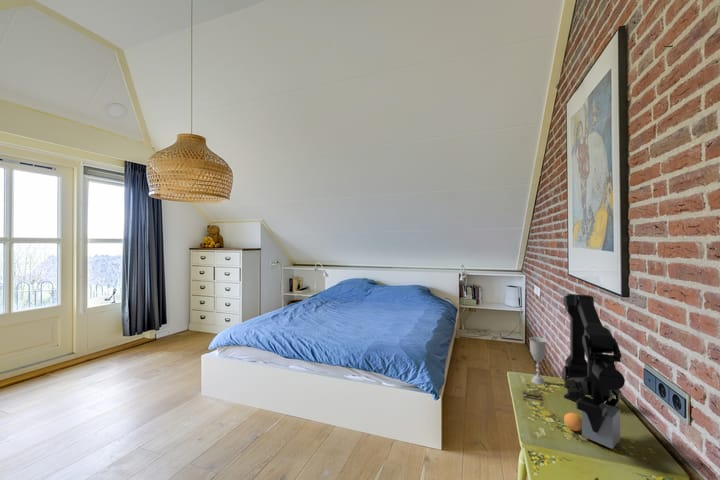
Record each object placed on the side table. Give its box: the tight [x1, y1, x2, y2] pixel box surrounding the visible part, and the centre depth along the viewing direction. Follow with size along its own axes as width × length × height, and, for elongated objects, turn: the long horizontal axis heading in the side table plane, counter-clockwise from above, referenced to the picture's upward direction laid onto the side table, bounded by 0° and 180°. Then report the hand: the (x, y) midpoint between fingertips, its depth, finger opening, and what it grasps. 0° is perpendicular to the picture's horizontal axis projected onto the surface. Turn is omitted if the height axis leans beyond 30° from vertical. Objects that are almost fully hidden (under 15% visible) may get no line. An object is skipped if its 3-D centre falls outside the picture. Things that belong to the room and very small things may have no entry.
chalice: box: [528, 336, 548, 386], centre depth 132 cm, size 7×7×18 cm
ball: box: [563, 412, 582, 432], centre depth 99 cm, size 5×5×5 cm
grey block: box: [581, 404, 621, 450], centre depth 93 cm, size 7×7×9 cm
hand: (599, 427), depth 93 cm, fingers closed on grey block, 7 cm apart
